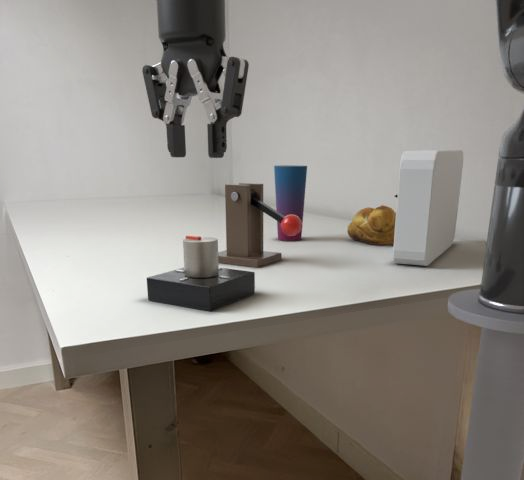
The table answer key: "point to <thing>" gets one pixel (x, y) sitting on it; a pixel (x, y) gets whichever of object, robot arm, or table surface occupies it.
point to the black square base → (201, 288)
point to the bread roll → (373, 226)
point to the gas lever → (279, 216)
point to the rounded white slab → (426, 205)
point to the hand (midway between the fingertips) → (197, 156)
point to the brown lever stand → (245, 228)
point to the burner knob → (200, 256)
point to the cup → (290, 195)
